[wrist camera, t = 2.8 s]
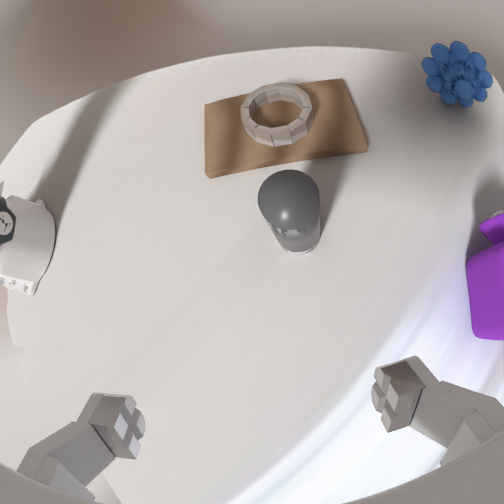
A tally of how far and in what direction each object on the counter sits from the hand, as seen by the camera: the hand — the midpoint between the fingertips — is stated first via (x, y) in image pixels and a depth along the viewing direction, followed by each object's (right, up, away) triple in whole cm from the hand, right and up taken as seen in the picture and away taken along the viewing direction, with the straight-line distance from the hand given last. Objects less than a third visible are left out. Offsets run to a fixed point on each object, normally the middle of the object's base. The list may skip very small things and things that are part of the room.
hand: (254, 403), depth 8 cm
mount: (+4, +21, +27) cm, 34 cm away
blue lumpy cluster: (+29, +26, +22) cm, 45 cm away
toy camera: (+28, +1, +16) cm, 33 cm away
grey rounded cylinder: (+5, +7, +23) cm, 25 cm away
